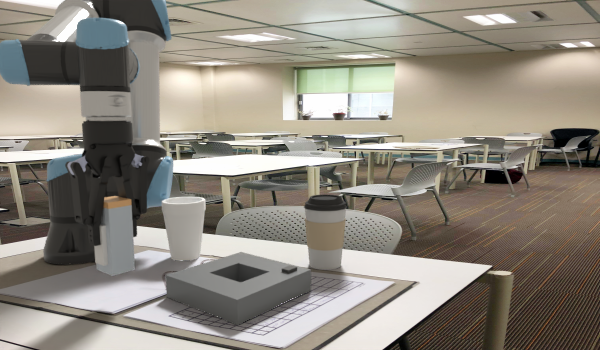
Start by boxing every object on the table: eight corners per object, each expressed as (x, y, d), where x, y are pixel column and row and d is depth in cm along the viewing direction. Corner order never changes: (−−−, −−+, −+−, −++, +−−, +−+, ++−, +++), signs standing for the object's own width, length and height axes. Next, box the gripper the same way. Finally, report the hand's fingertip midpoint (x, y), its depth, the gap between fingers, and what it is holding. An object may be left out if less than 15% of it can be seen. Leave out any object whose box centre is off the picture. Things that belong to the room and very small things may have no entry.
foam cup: (161, 253, 108) (159, 198, 107) (201, 249, 112) (200, 195, 110) (167, 265, 99) (164, 205, 98) (210, 260, 103) (208, 202, 102)
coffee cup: (297, 268, 97) (297, 197, 95) (312, 256, 106) (312, 190, 104) (339, 273, 94) (339, 199, 92) (351, 260, 102) (352, 193, 100)
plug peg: (96, 269, 78) (92, 199, 77) (118, 263, 82) (115, 195, 80) (112, 276, 75) (108, 202, 74) (134, 269, 78) (131, 199, 77)
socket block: (166, 297, 82) (165, 271, 81) (241, 270, 96) (240, 249, 95) (238, 325, 71) (237, 296, 70) (310, 290, 84) (310, 266, 84)
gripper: (64, 120, 66) (74, 279, 69) (166, 118, 79) (171, 252, 82) (41, 119, 71) (52, 268, 74) (141, 118, 84) (147, 245, 87)
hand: (115, 259), depth 78 cm, fingers closed on plug peg, 4 cm apart
